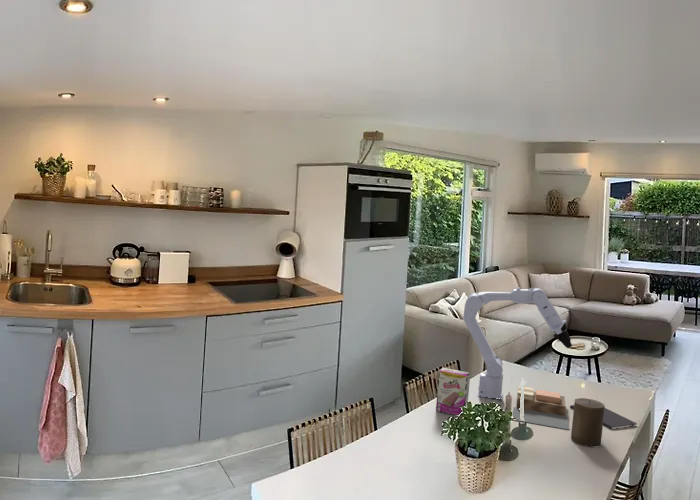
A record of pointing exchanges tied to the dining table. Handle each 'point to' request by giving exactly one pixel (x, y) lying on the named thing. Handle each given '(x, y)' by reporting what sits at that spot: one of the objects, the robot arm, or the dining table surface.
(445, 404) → the candy bar box
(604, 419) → the notebook
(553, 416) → the mat
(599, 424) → the pillar candle
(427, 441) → the dining table surface
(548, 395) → the peach rectangular block
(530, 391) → the cream flat block
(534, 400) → the tan flat block
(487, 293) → the robot arm
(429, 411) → the dining table surface
